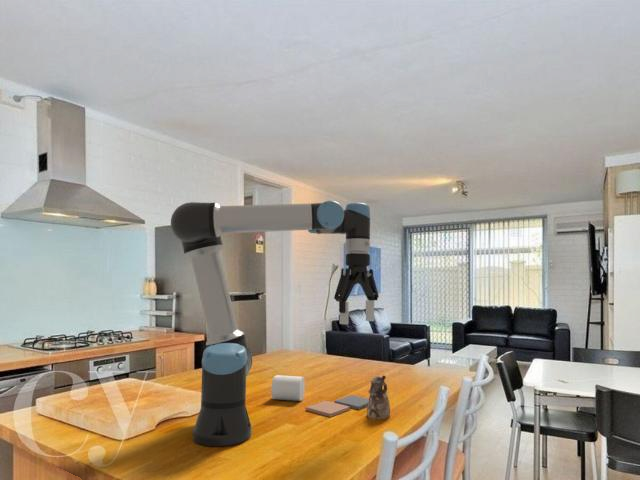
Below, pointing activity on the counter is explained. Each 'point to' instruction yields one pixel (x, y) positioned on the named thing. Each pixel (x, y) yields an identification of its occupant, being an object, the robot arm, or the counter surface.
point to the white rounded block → (288, 388)
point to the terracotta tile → (327, 408)
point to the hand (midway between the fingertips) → (357, 322)
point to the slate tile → (353, 402)
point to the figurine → (378, 399)
